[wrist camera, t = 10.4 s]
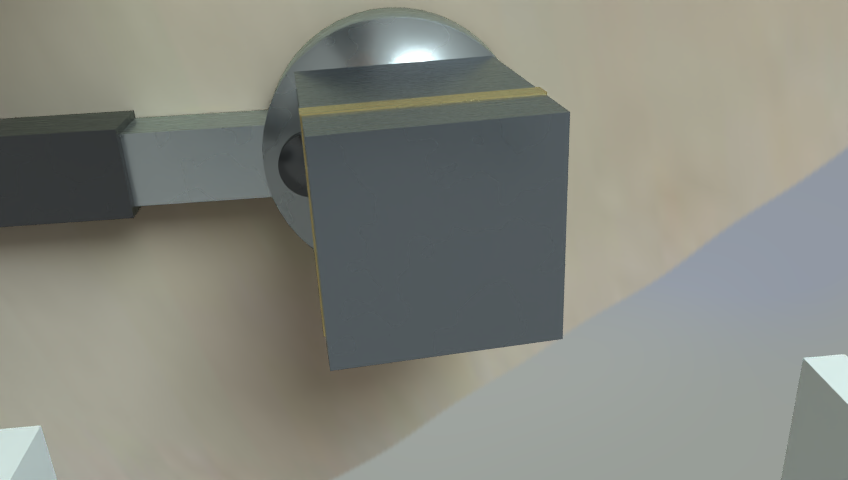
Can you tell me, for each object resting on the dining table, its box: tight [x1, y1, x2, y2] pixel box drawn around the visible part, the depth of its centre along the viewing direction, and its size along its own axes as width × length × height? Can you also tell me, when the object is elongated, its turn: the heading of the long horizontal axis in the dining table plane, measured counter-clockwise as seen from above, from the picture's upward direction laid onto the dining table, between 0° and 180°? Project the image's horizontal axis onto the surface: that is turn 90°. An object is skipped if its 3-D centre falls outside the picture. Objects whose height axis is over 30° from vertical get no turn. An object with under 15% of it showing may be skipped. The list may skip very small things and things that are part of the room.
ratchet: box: [0, 8, 498, 249], centre depth 28 cm, size 26×10×8 cm, turn 93°
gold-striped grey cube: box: [294, 56, 570, 371], centre depth 26 cm, size 7×7×8 cm
